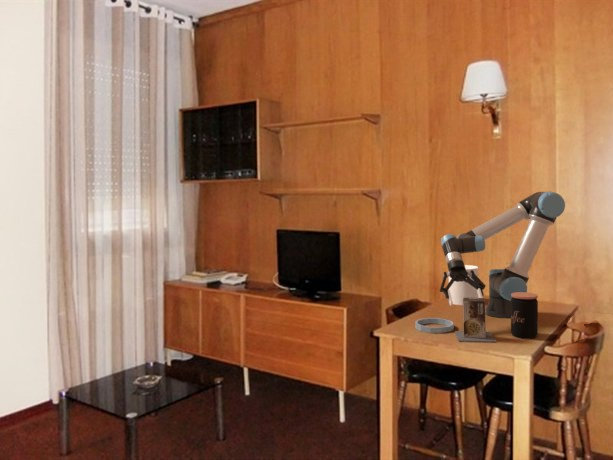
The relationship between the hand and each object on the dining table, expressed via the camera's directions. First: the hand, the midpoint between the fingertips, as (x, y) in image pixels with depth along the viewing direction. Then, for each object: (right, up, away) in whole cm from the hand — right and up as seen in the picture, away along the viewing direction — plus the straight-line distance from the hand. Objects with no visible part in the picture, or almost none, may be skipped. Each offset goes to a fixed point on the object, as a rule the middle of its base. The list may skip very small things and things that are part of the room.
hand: (466, 303), depth 225 cm
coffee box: (+2, -14, -4) cm, 14 cm away
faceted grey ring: (-11, -13, +12) cm, 21 cm away
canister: (+18, -9, +63) cm, 66 cm away
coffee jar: (+23, -14, -4) cm, 27 cm away
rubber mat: (+2, -14, -5) cm, 15 cm away
